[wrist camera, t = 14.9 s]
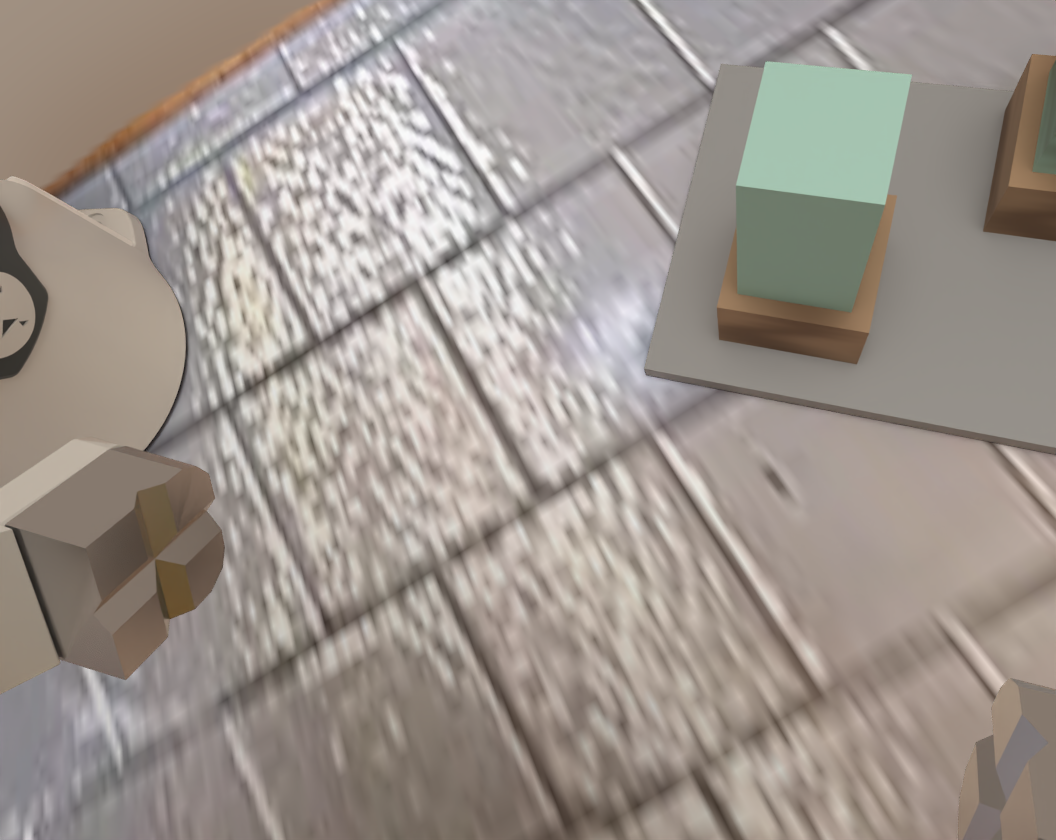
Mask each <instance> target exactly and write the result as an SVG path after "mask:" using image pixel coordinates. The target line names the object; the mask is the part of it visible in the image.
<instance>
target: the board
mask: <svg viewBox="0 0 1056 840" xmlns="http://www.w3.org/2000/svg"><path fill="white" fill-rule="evenodd" d="M763 71H764V68H759V67H748V66H737V65H727V64H721V66H720V70H719V74H718V78H717V82H716V86H715V90H714V94H713V98H712V102H711V106H710V110H709V114H708V118H707V122H706V126H705V130H704V134H703V138H702V142H701V145H700V149H699V153H698V157H697V161H696V165H695V169H694V173H693V177H692V181H691V185H690V189H689V193H688V197H687V201H686V205H685V209H684V213H683V217H682V221H681V225H680V229H679V233H678V237H677V241H676V244H675V248H674V252H673V256H672V260H671V264H670V268H669V272H668V276H667V280H666V284H665V288H664V292H663V296H662V300H661V304H660V308H659V312H658V316H657V320H656V324H655V328H654V332H653V336H652V339H651V343H650V347H649V351H648V355H647V359H646V363H645V367H644V370H645V373H646V375H648V376H654V377H659V378H664V379H669V380H674V381H679V382H684V383H690V384H695V385H700V386H705V387H710V388H715V389H721V390H726V391H731V392H736V393H741V394H746V395H751V396H757V397H762V398H767V399H772V400H777V401H782V402H787V403H793V404H798V405H803V406H808V407H813V408H818V409H823V410H829V411H834V412H839V413H844V414H849V415H854V416H860V417H865V418H870V419H875V420H880V421H885V422H890V423H896V424H901V425H906V426H911V427H916V428H921V429H926V430H932V431H937V432H942V433H947V434H952V435H957V436H962V437H968V438H973V439H978V440H983V441H988V442H993V443H999V444H1004V445H1009V446H1014V447H1019V448H1024V449H1029V450H1035V451H1040V452H1045V453H1050V454H1055V455H1056V241H1049V240H1042V239H1035V238H1027V237H1020V236H1012V235H1005V234H997V233H990V232H983V228H984V223H985V217H986V212H987V206H988V201H989V196H990V190H991V185H992V179H993V174H994V168H995V163H996V157H997V152H998V146H999V141H1000V135H1001V130H1002V124H1003V119H1004V113H1005V109H1006V107H1007V105H1008V103H1009V101H1010V99H1011V97H1012V95H1013V93H1014V91H1005V90H994V89H983V88H973V87H962V86H951V85H940V84H930V83H919V82H910V87H909V92H908V96H907V101H906V106H905V111H904V116H903V121H902V126H901V131H900V135H899V140H898V145H897V150H896V155H895V160H894V165H893V169H892V174H891V179H890V184H889V189H888V194H889V195H897V199H896V204H895V209H894V214H893V218H892V223H891V228H890V233H889V238H888V243H887V248H886V253H885V258H884V263H883V267H882V272H881V277H880V282H879V287H878V292H877V297H876V302H875V307H874V312H873V317H872V321H871V326H870V331H869V335H868V337H867V340H866V342H865V345H864V347H863V350H862V353H861V355H860V358H859V360H858V363H857V364H852V363H846V362H841V361H835V360H830V359H824V358H819V357H813V356H807V355H802V354H796V353H791V352H785V351H779V350H774V349H768V348H763V347H757V346H751V345H746V344H740V343H735V342H729V341H723V340H719V331H718V318H717V304H718V300H719V296H720V292H721V287H722V283H723V279H724V275H725V271H726V267H727V262H728V258H729V254H730V250H731V246H732V242H733V237H734V233H735V229H736V183H737V179H738V175H739V171H740V166H741V162H742V158H743V154H744V150H745V146H746V142H747V137H748V133H749V129H750V125H751V121H752V117H753V113H754V108H755V104H756V100H757V96H758V92H759V88H760V84H761V79H762V75H763Z"/></svg>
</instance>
